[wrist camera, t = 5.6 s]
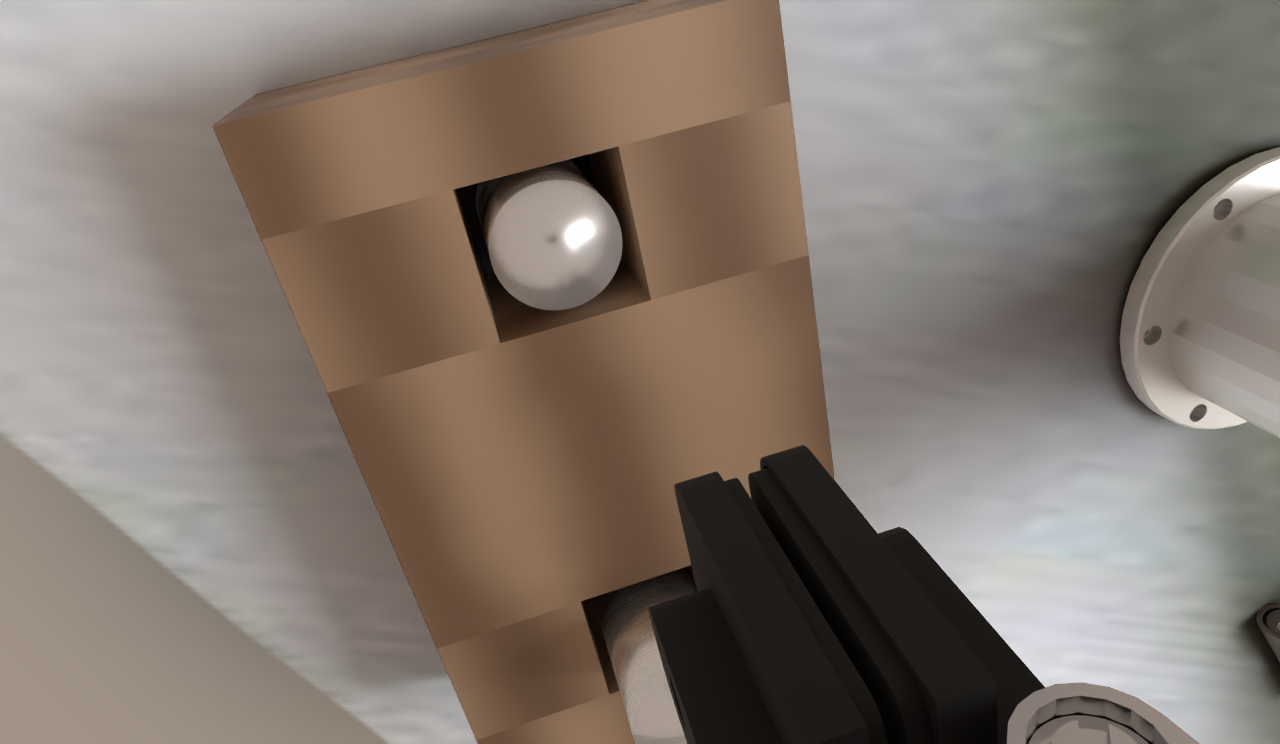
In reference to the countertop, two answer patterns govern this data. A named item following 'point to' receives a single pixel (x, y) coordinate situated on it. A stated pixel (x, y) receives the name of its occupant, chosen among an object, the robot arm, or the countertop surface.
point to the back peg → (643, 655)
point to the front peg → (549, 235)
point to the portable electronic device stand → (1270, 625)
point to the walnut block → (547, 322)
